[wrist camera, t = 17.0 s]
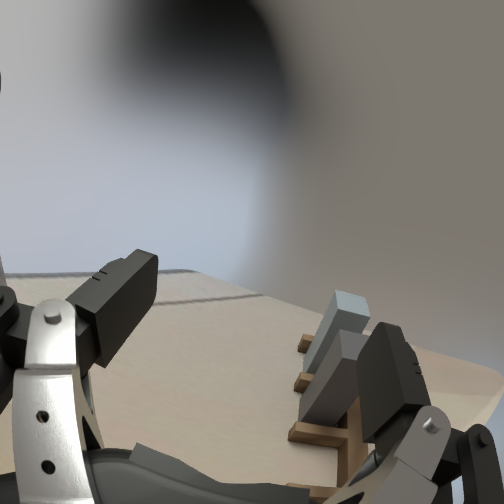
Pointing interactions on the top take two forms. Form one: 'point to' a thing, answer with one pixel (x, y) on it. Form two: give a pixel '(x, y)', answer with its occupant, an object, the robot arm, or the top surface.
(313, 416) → the grey tall rectangular block
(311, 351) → the slate plug
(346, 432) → the cable comb
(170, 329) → the top surface
